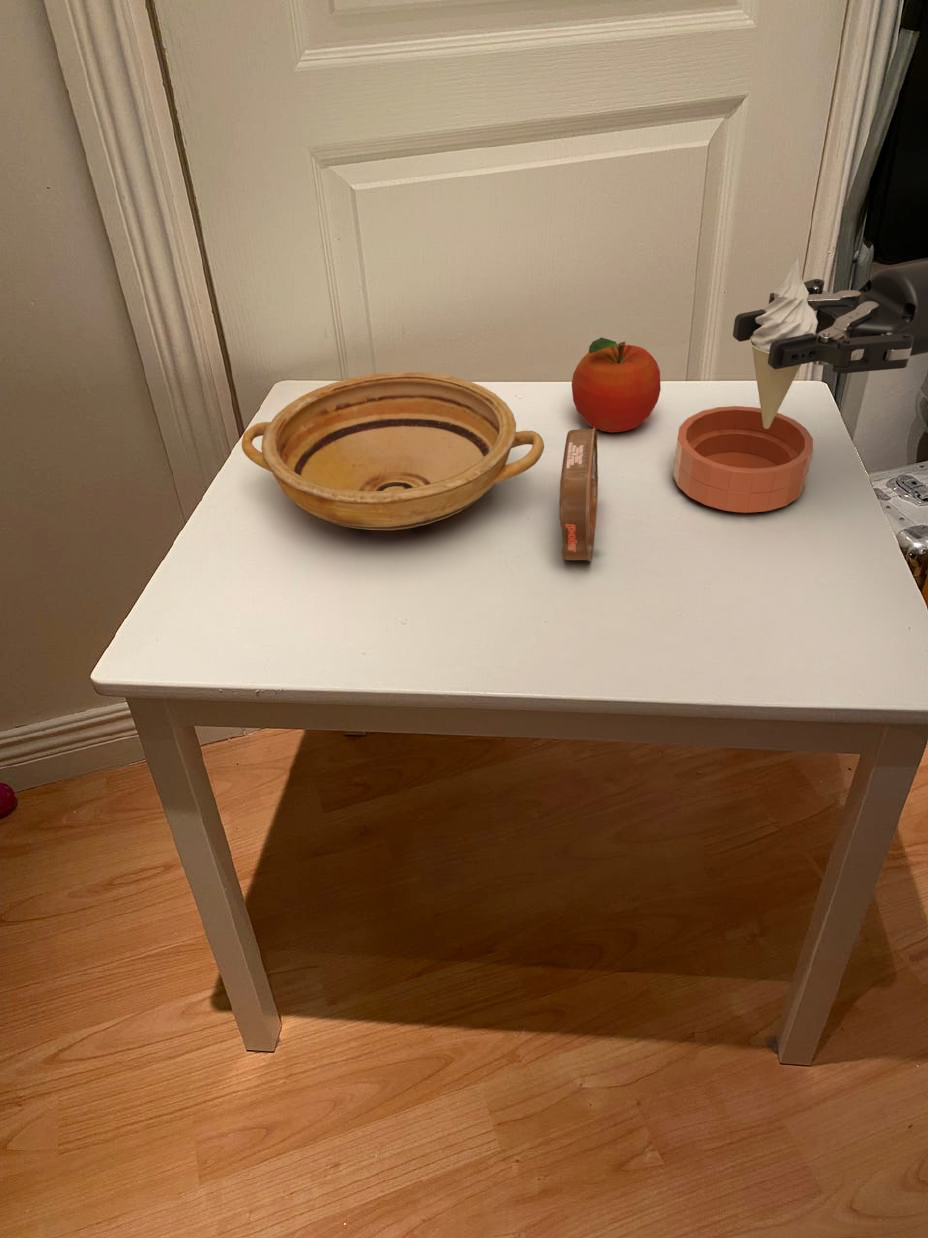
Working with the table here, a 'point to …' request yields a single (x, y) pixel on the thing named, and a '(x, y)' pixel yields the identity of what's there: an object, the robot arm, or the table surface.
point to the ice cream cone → (779, 322)
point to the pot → (742, 459)
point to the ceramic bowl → (391, 449)
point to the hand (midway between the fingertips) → (754, 341)
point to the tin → (579, 494)
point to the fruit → (615, 385)
